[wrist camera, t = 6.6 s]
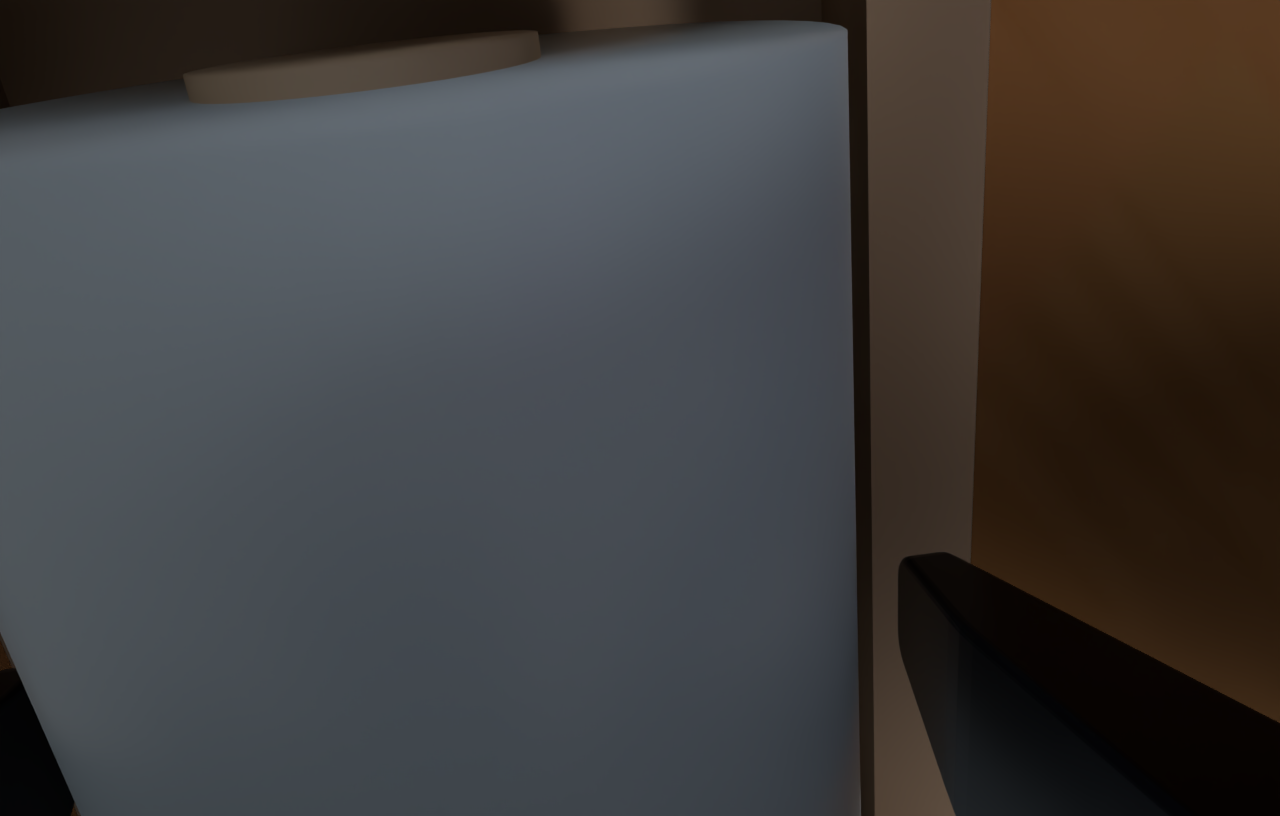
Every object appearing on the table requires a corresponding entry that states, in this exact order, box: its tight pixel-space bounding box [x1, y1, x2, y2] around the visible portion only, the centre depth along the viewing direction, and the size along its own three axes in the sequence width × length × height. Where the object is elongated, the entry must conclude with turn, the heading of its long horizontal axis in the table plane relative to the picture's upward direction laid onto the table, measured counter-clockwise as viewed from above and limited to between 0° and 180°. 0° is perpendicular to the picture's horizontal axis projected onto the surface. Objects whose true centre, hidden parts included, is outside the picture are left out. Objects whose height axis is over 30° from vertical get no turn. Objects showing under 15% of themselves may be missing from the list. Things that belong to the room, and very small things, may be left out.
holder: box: [0, 0, 991, 816], centre depth 10 cm, size 10×14×5 cm, turn 6°
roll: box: [0, 20, 861, 816], centre depth 8 cm, size 10×6×6 cm, turn 6°
